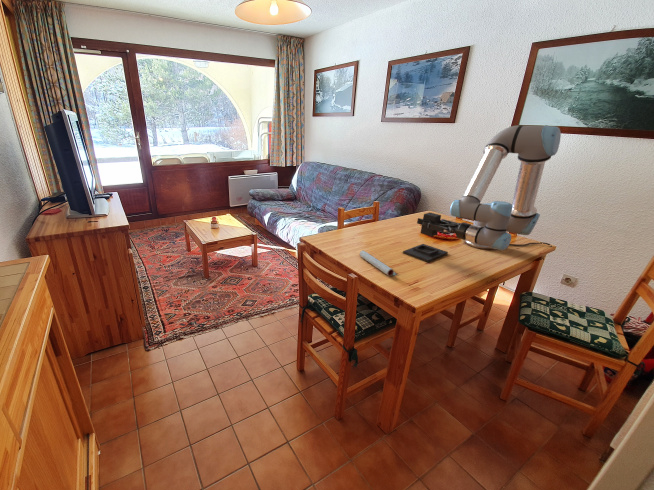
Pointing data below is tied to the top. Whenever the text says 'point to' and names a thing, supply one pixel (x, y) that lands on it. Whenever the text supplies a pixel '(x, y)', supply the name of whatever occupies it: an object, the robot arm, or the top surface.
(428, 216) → the black rectangular block
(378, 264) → the aluminum foil
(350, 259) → the top surface
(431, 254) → the base pad
